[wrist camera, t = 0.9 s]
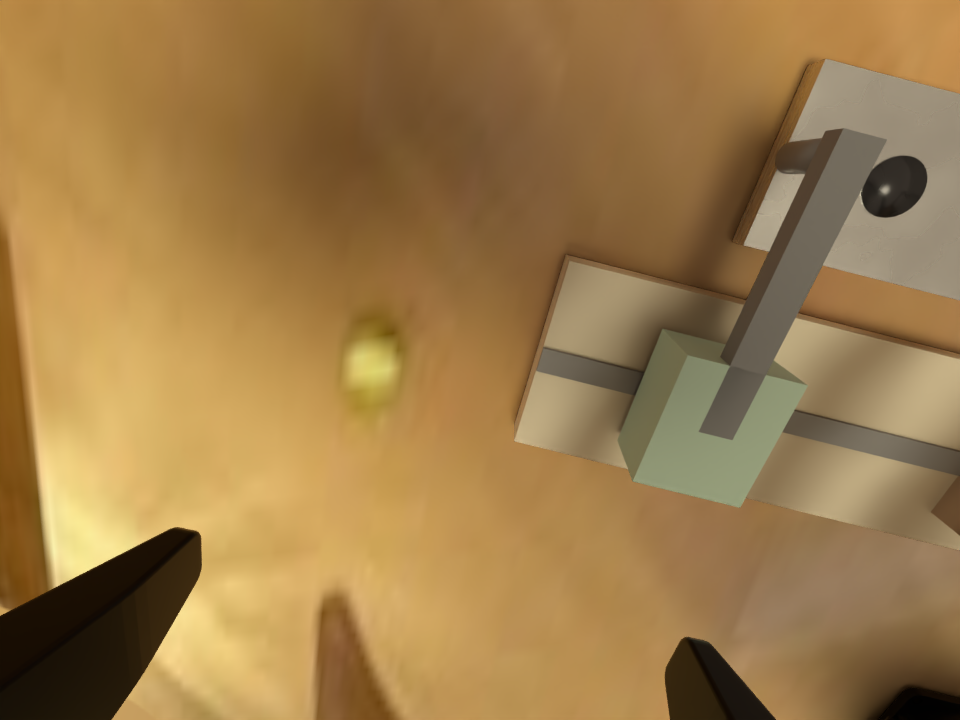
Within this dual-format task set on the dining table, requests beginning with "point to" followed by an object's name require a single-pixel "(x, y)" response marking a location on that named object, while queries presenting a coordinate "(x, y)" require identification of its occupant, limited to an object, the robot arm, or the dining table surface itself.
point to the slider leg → (745, 344)
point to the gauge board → (811, 428)
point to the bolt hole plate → (877, 177)
